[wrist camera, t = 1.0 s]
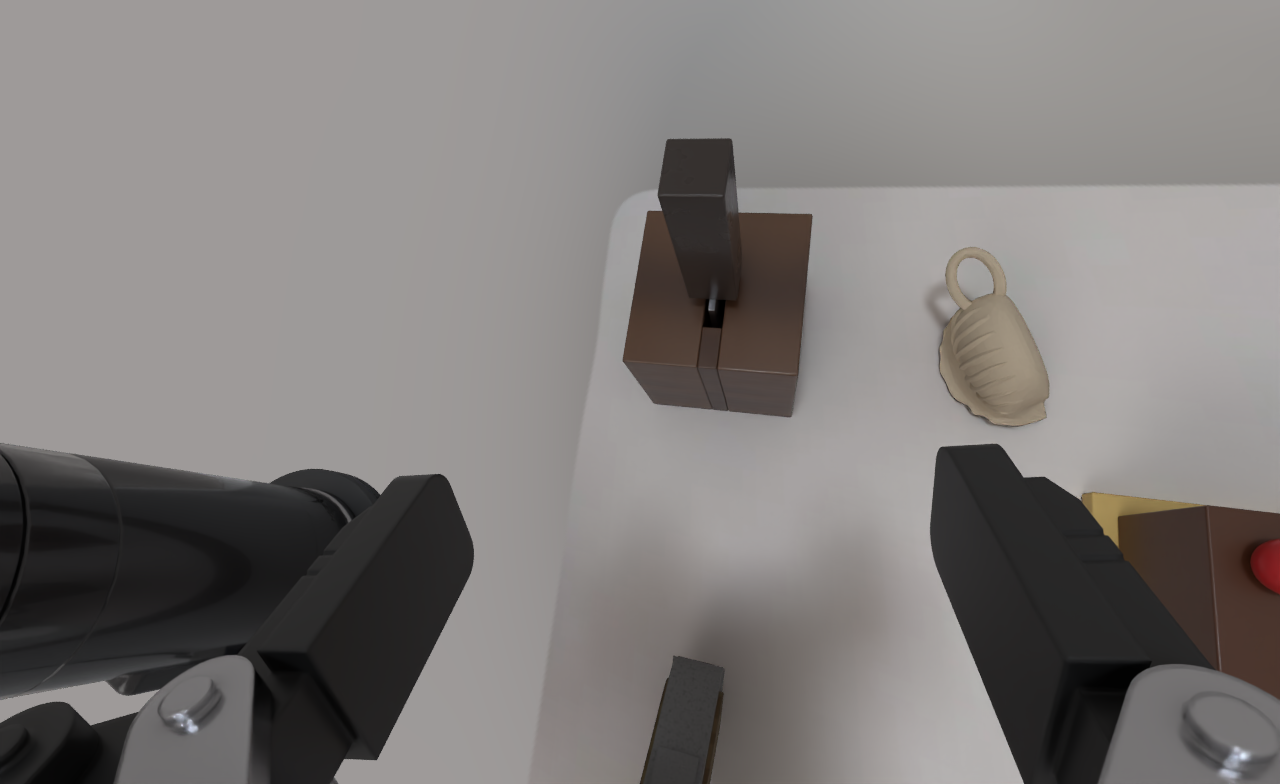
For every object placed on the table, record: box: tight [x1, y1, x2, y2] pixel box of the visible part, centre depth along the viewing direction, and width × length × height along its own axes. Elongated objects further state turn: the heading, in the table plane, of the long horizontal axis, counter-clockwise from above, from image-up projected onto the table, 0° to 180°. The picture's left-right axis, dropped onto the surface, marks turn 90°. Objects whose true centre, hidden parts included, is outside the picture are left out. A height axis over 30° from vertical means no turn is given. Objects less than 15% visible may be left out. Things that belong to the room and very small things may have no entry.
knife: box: [658, 139, 742, 329], centre depth 27 cm, size 3×2×17 cm
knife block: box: [623, 211, 813, 417], centre depth 31 cm, size 8×8×8 cm
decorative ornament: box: [939, 247, 1049, 426], centre depth 29 cm, size 4×8×5 cm, turn 11°
